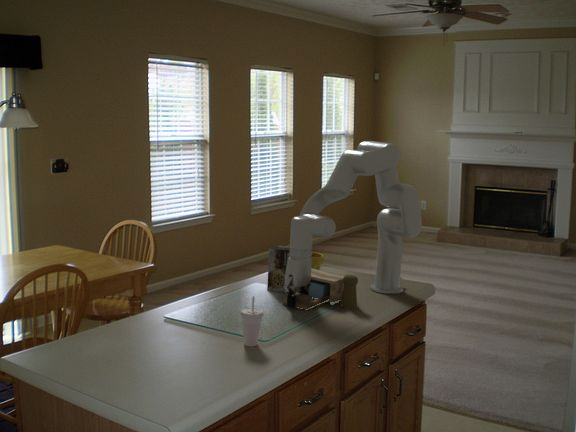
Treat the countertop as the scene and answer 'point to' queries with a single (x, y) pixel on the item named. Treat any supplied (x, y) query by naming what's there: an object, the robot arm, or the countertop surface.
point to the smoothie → (251, 324)
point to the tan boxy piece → (331, 278)
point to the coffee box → (277, 268)
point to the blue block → (319, 289)
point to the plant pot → (316, 260)
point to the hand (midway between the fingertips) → (297, 304)
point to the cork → (349, 292)
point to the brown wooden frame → (305, 300)
